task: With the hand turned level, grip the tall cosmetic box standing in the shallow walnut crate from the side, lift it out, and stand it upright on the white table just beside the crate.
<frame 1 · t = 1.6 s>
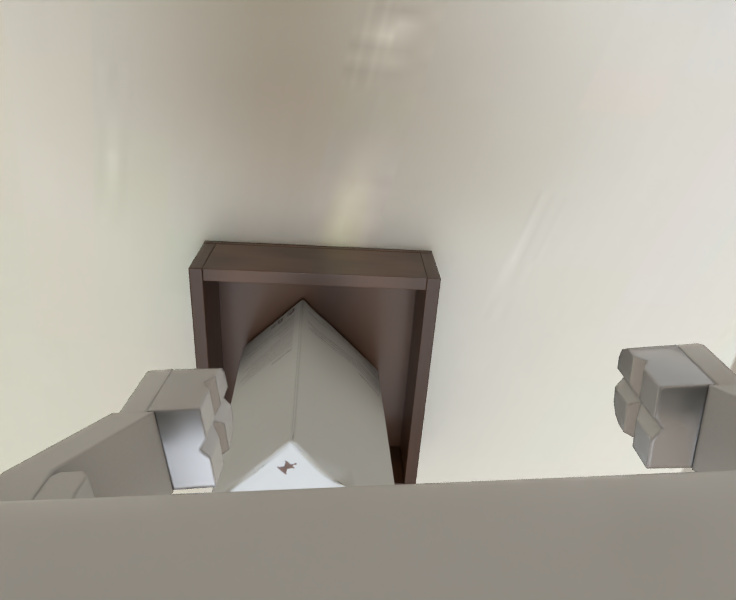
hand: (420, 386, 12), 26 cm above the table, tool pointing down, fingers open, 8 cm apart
cosmetic box: (316, 357, 42), resting on crate
crate: (316, 355, 42), on the table
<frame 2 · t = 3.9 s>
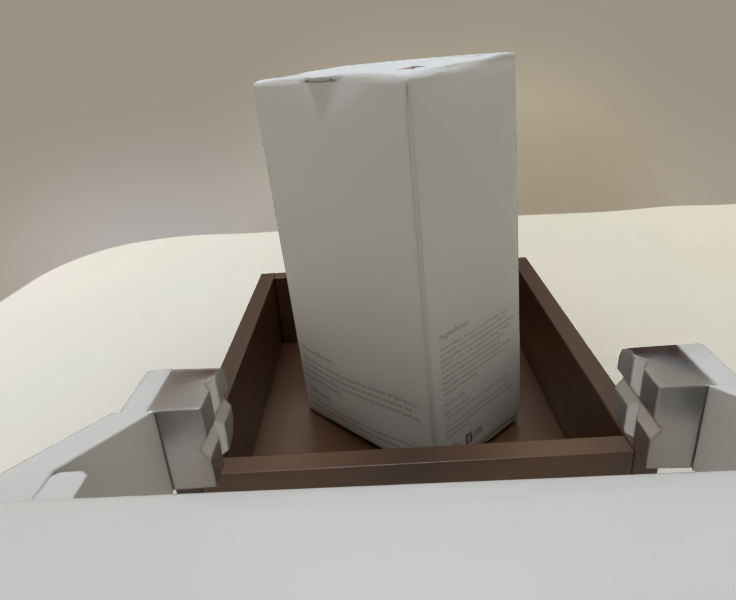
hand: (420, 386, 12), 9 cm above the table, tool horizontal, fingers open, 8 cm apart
cosmetic box: (404, 416, 27), resting on crate
crate: (404, 420, 27), on the table
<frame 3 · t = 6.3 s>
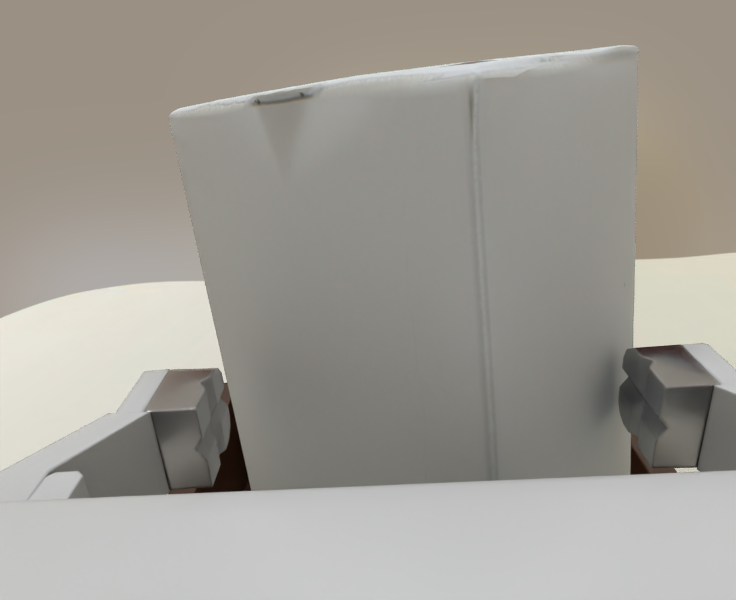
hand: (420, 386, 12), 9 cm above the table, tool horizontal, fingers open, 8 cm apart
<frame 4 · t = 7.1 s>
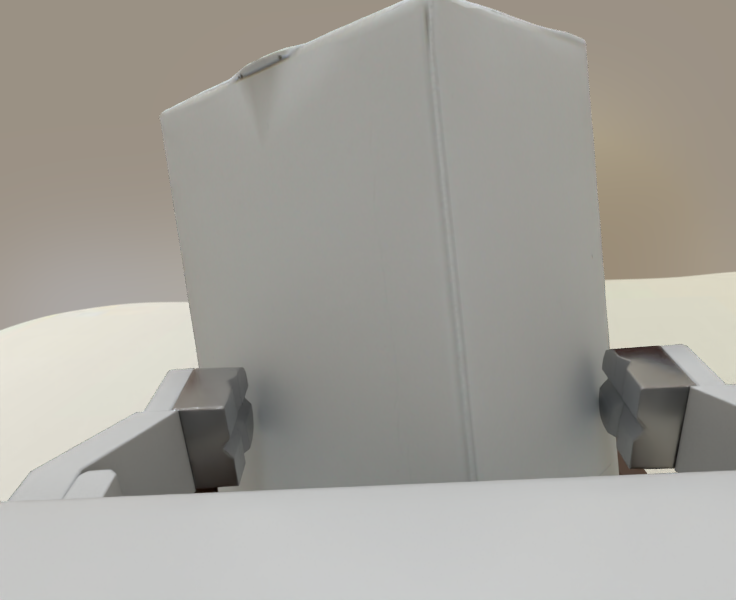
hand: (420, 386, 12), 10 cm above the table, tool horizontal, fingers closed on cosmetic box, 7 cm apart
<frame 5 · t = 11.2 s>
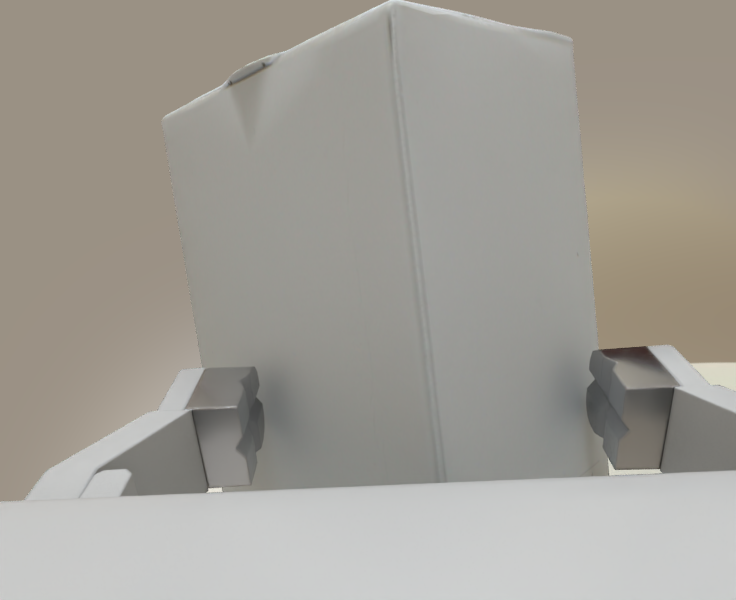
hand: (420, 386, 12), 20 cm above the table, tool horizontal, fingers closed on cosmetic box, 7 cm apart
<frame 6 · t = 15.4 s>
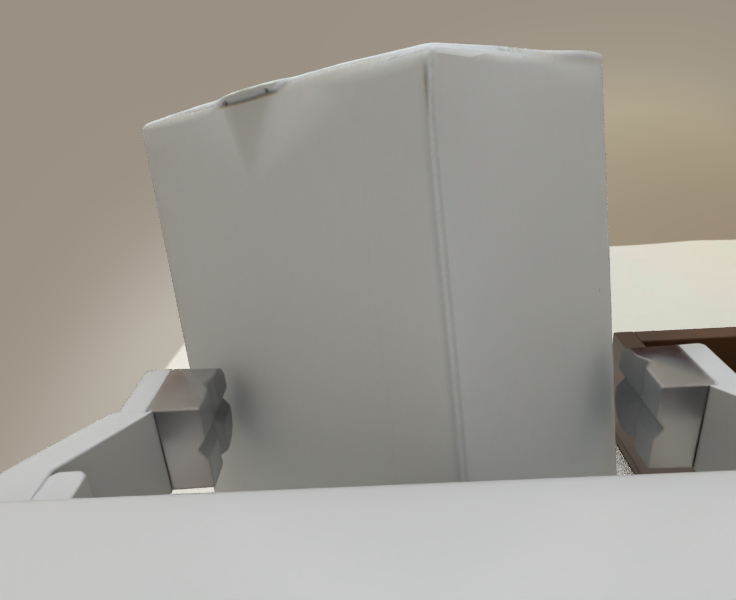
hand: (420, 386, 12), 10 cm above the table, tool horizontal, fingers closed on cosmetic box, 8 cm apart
when the fingers open (10 cm above the table, at t = 15.7 s): cosmetic box stays where it is, on the table.
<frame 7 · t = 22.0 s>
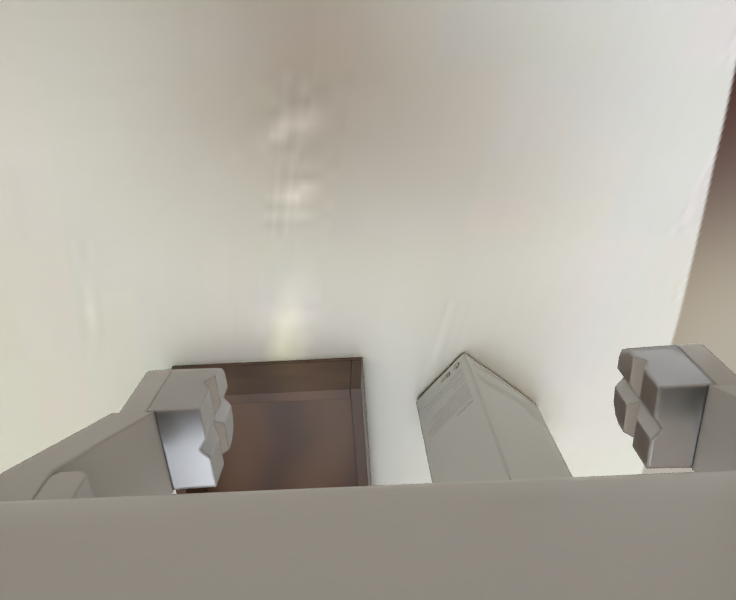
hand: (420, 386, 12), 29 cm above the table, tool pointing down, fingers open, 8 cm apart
cosmetic box: (479, 400, 47), on the table
crate: (279, 449, 49), on the table
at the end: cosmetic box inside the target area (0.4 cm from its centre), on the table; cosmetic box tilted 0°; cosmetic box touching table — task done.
